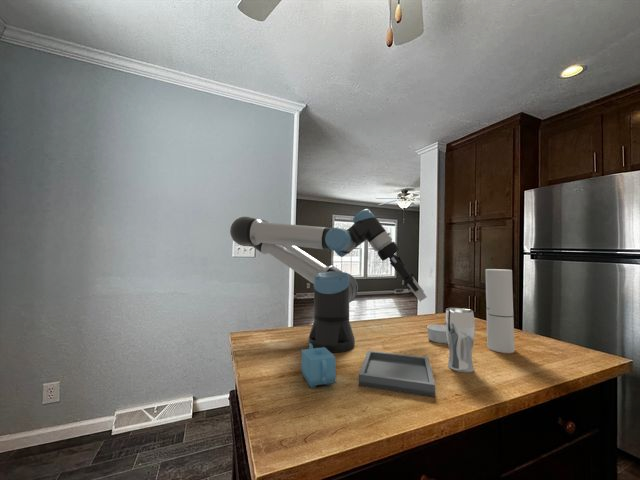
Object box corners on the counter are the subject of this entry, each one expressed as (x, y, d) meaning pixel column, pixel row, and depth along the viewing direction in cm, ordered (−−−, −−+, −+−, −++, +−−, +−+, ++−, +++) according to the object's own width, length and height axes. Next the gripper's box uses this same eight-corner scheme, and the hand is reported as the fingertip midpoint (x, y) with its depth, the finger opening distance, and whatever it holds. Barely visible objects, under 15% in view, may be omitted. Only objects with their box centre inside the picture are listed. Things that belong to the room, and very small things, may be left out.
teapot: (297, 371, 69) (298, 340, 69) (320, 367, 71) (320, 338, 71) (311, 394, 57) (312, 358, 58) (338, 389, 59) (338, 354, 60)
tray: (358, 385, 61) (358, 374, 61) (367, 359, 76) (367, 350, 76) (435, 397, 56) (435, 384, 56) (428, 366, 72) (428, 357, 72)
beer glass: (472, 364, 73) (471, 308, 74) (478, 375, 67) (477, 313, 68) (444, 361, 76) (443, 306, 76) (447, 371, 69) (446, 311, 70)
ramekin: (421, 338, 97) (421, 325, 97) (439, 335, 100) (439, 323, 101) (442, 345, 89) (441, 332, 89) (460, 342, 92) (460, 329, 93)
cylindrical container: (506, 345, 89) (503, 269, 90) (519, 353, 82) (517, 270, 83) (483, 344, 90) (481, 269, 91) (494, 352, 83) (492, 270, 84)
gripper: (392, 238, 86) (435, 295, 81) (394, 242, 109) (428, 286, 105) (372, 252, 87) (414, 308, 83) (379, 252, 111) (411, 296, 106)
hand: (422, 296), depth 94 cm, fingers open, 13 cm apart
